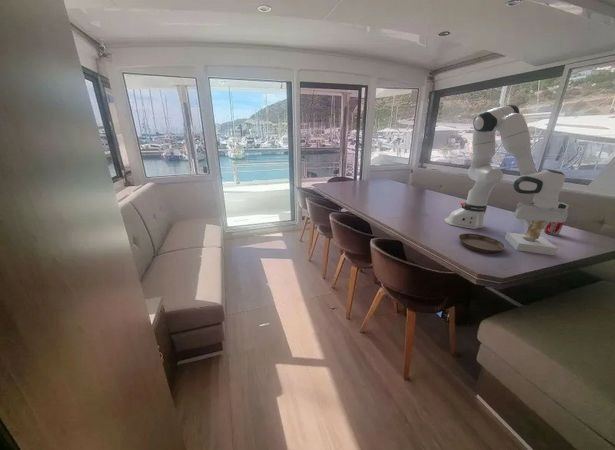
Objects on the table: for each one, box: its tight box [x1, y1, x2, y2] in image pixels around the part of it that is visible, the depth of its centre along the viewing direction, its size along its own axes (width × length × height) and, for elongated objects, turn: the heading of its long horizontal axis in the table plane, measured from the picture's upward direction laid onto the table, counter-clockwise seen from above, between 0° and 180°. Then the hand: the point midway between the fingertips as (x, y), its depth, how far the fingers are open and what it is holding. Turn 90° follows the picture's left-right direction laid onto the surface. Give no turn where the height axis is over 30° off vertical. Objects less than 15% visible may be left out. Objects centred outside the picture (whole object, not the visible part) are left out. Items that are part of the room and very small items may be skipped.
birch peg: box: [525, 220, 545, 239], centre depth 128 cm, size 4×4×10 cm
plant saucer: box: [458, 233, 505, 254], centre depth 131 cm, size 21×21×3 cm
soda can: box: [543, 222, 565, 236], centre depth 148 cm, size 7×7×12 cm
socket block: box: [504, 231, 559, 256], centre depth 131 cm, size 16×16×4 cm
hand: (534, 228), depth 128 cm, fingers closed on birch peg, 4 cm apart
